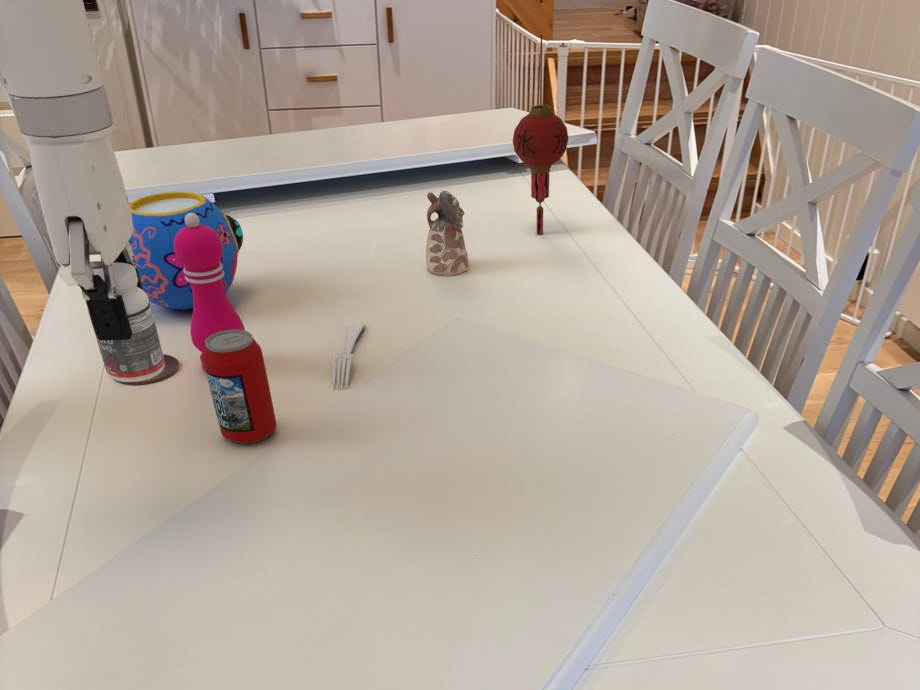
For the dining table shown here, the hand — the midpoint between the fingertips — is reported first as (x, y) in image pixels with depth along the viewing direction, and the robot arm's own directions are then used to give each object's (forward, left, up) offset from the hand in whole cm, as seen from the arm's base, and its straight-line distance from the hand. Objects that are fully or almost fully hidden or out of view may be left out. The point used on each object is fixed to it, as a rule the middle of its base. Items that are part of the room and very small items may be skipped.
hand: (123, 322), depth 88 cm
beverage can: (+6, +14, -20) cm, 25 cm away
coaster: (-11, +34, -20) cm, 41 cm away
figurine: (+32, +67, -20) cm, 77 cm away
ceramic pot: (-9, +58, -20) cm, 62 cm away
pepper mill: (0, +34, -20) cm, 39 cm away
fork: (+18, +35, -20) cm, 44 cm away
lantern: (+49, +82, -20) cm, 98 cm away
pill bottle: (0, 0, -5) cm, 5 cm away
